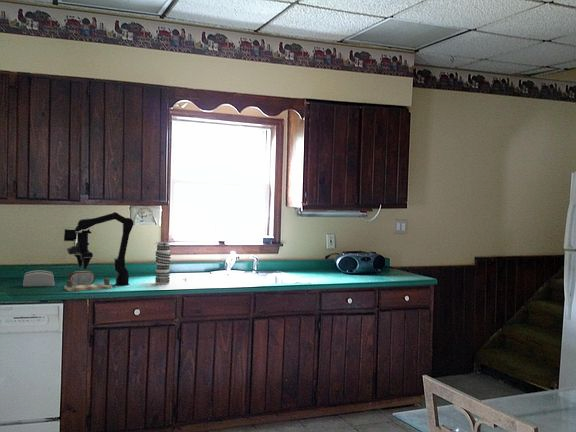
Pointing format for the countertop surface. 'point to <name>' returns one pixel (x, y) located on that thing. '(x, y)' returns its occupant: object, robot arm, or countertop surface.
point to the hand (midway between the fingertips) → (82, 268)
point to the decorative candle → (162, 263)
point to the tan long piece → (87, 286)
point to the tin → (82, 277)
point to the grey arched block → (38, 278)
